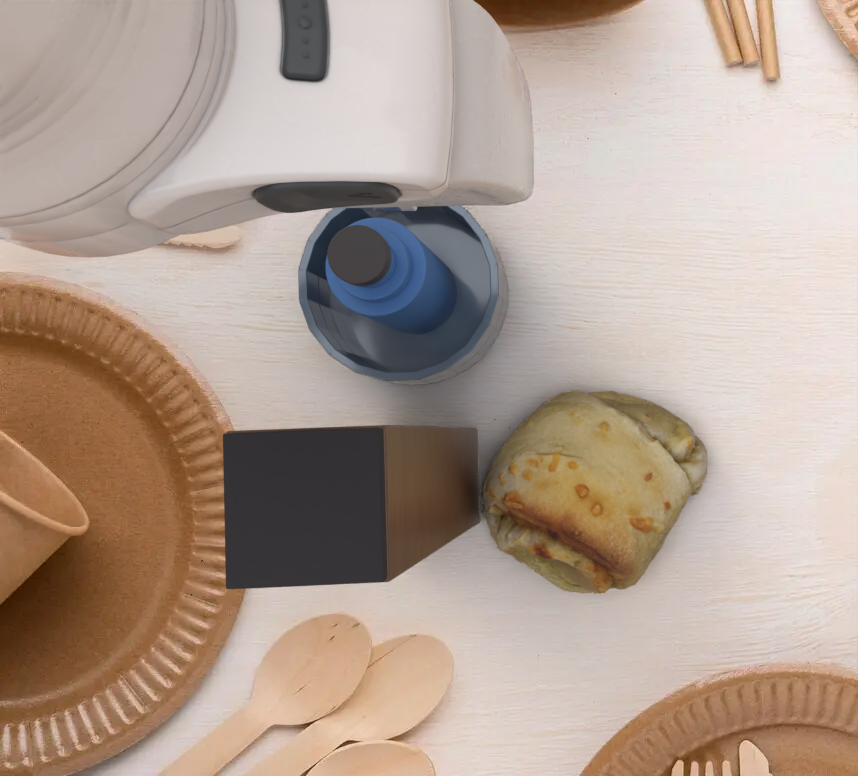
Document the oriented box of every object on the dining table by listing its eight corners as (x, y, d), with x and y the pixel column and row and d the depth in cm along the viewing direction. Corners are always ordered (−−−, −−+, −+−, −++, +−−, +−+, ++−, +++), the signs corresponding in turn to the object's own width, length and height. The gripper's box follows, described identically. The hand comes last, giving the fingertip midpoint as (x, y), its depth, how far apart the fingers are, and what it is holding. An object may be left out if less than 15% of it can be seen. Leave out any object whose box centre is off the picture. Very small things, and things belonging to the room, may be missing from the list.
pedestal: (382, 527, 66) (228, 589, 40) (380, 431, 66) (225, 430, 40) (480, 523, 66) (390, 582, 40) (477, 427, 66) (385, 425, 40)
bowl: (327, 388, 66) (300, 384, 60) (322, 206, 66) (295, 186, 61) (511, 381, 67) (501, 377, 61) (505, 202, 67) (495, 182, 62)
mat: (231, 587, 40) (225, 589, 39) (227, 433, 40) (221, 433, 39) (387, 579, 40) (384, 582, 40) (383, 427, 40) (379, 427, 40)
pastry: (484, 592, 66) (465, 614, 58) (481, 393, 66) (461, 388, 58) (708, 584, 67) (721, 605, 59) (703, 388, 67) (715, 382, 59)
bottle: (373, 335, 65) (303, 309, 51) (371, 252, 66) (301, 202, 51) (458, 333, 66) (413, 305, 51) (455, 250, 66) (410, 200, 52)
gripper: (-433, 201, 23) (-39, 287, 37) (507, 183, 24) (549, 272, 38) (-432, -81, 23) (-41, 108, 37) (500, -85, 25) (543, 100, 38)
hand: (263, 191), depth 38 cm, fingers open, 8 cm apart
